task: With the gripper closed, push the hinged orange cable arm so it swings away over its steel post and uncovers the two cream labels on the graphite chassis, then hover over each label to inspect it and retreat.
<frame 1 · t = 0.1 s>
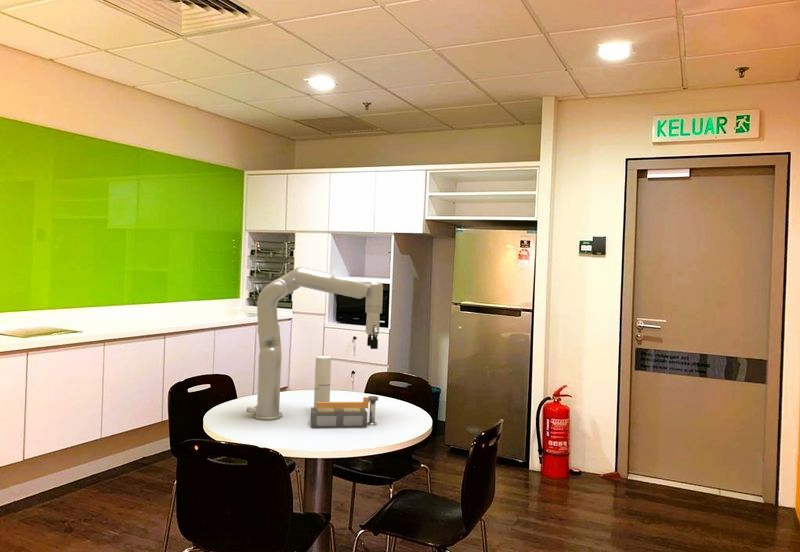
hand: (372, 347, 273), 31 cm above the table, fingers open, 9 cm apart
post: (371, 424, 259), on the table
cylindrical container: (321, 411, 279), on the table
chassis: (338, 424, 256), on the table
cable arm: (347, 402, 257), point 9 cm above the table, hinge at 0.0°
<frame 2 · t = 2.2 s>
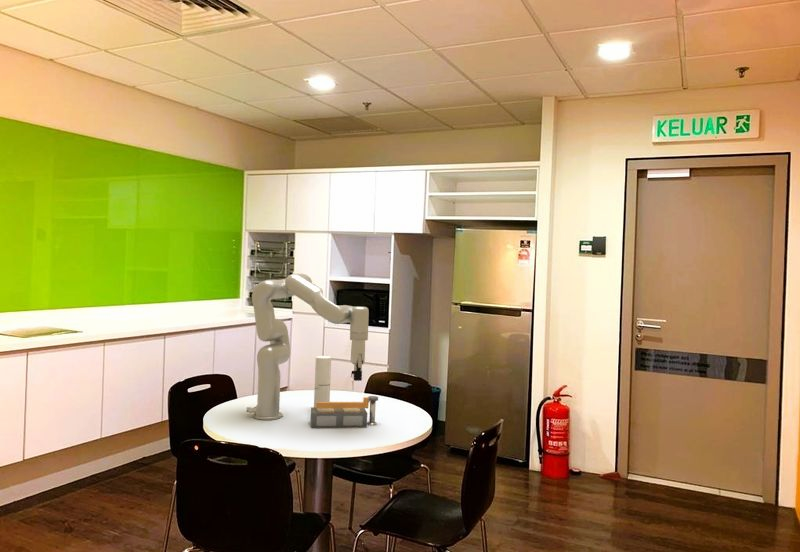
hand: (357, 380, 252), 20 cm above the table, fingers closed
nothing on the table moved.
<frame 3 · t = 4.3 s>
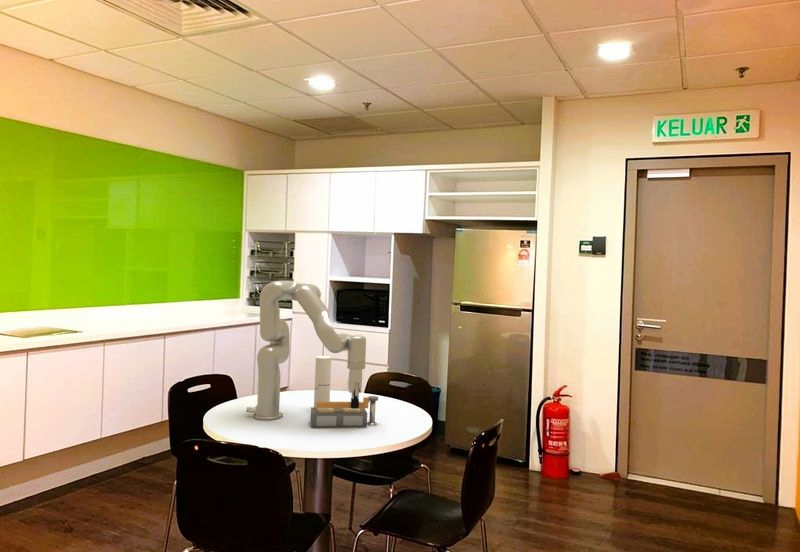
hand: (354, 408, 255), 8 cm above the table, fingers closed
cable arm: (347, 402, 257), point 9 cm above the table, hinge at 1.5°, touching gripper
everything else where it was.
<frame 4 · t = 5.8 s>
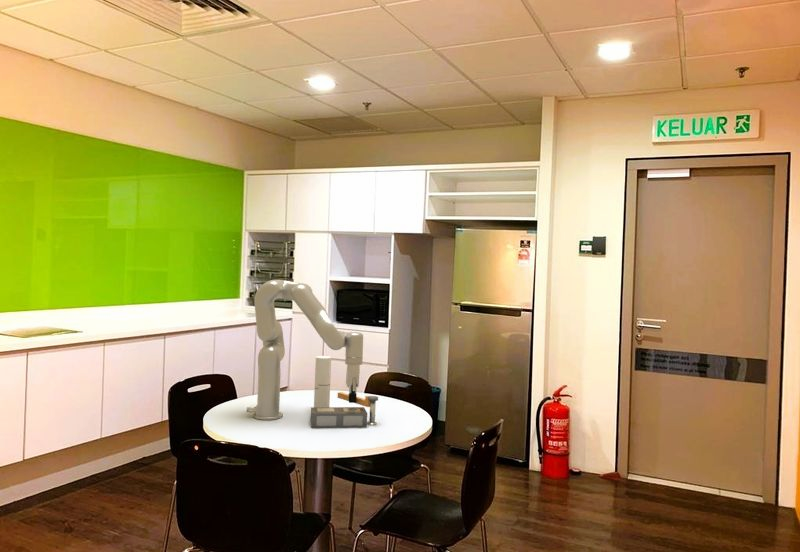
hand: (352, 402, 265), 8 cm above the table, fingers closed
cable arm: (357, 397, 267), point 9 cm above the table, hinge at 58.9°, touching gripper
everything else where it was.
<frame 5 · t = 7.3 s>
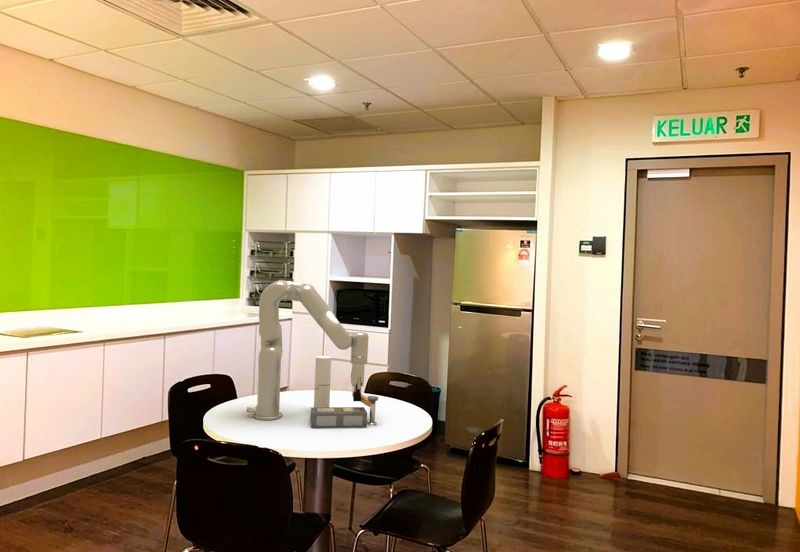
hand: (356, 400, 270), 7 cm above the table, fingers closed
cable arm: (364, 397, 269), point 9 cm above the table, hinge at 77.7°, touching gripper
everything else where it was.
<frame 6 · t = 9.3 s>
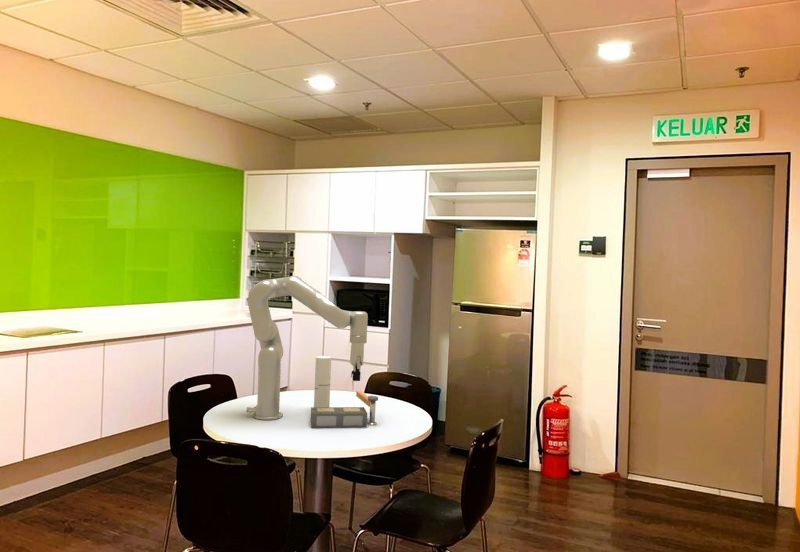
hand: (356, 380, 268), 17 cm above the table, fingers closed
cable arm: (366, 397, 270), point 9 cm above the table, hinge at 82.4°
everything else where it was.
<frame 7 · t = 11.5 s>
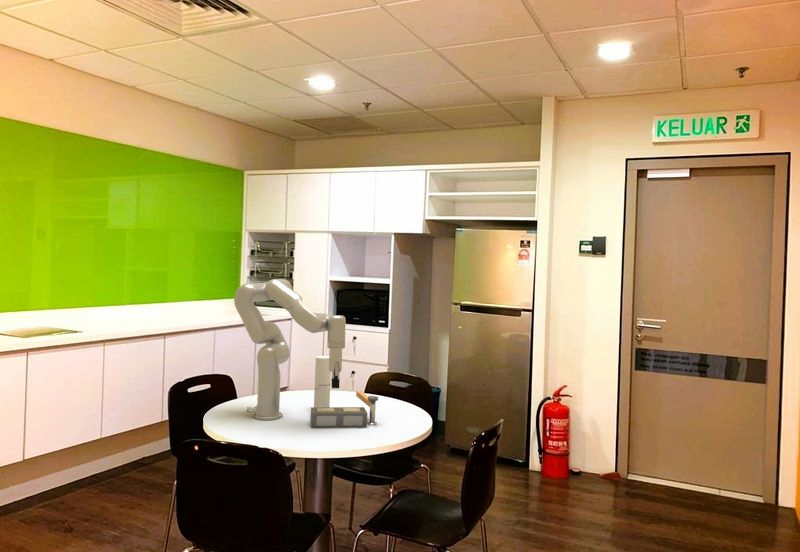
hand: (335, 387, 256), 16 cm above the table, fingers closed
nothing on the table moved.
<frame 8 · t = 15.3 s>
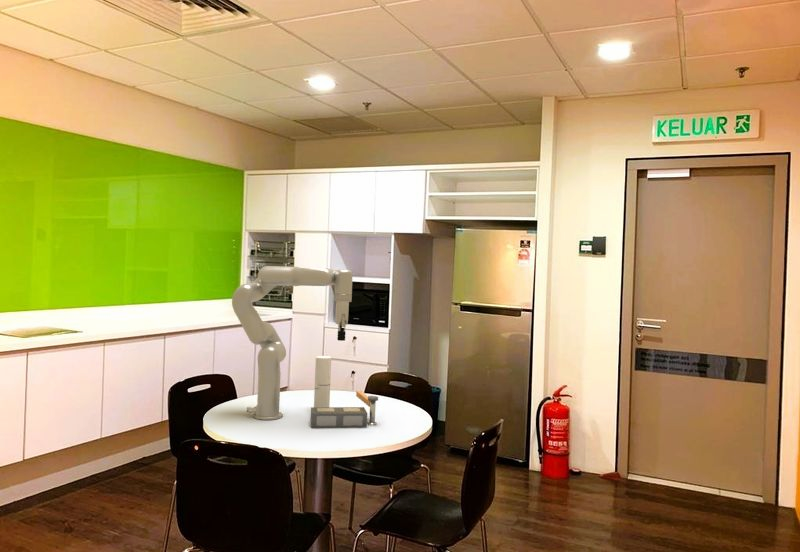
hand: (341, 340, 262), 35 cm above the table, fingers closed
nothing on the table moved.
at the end: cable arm at +82° (first picture: +0°) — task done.
